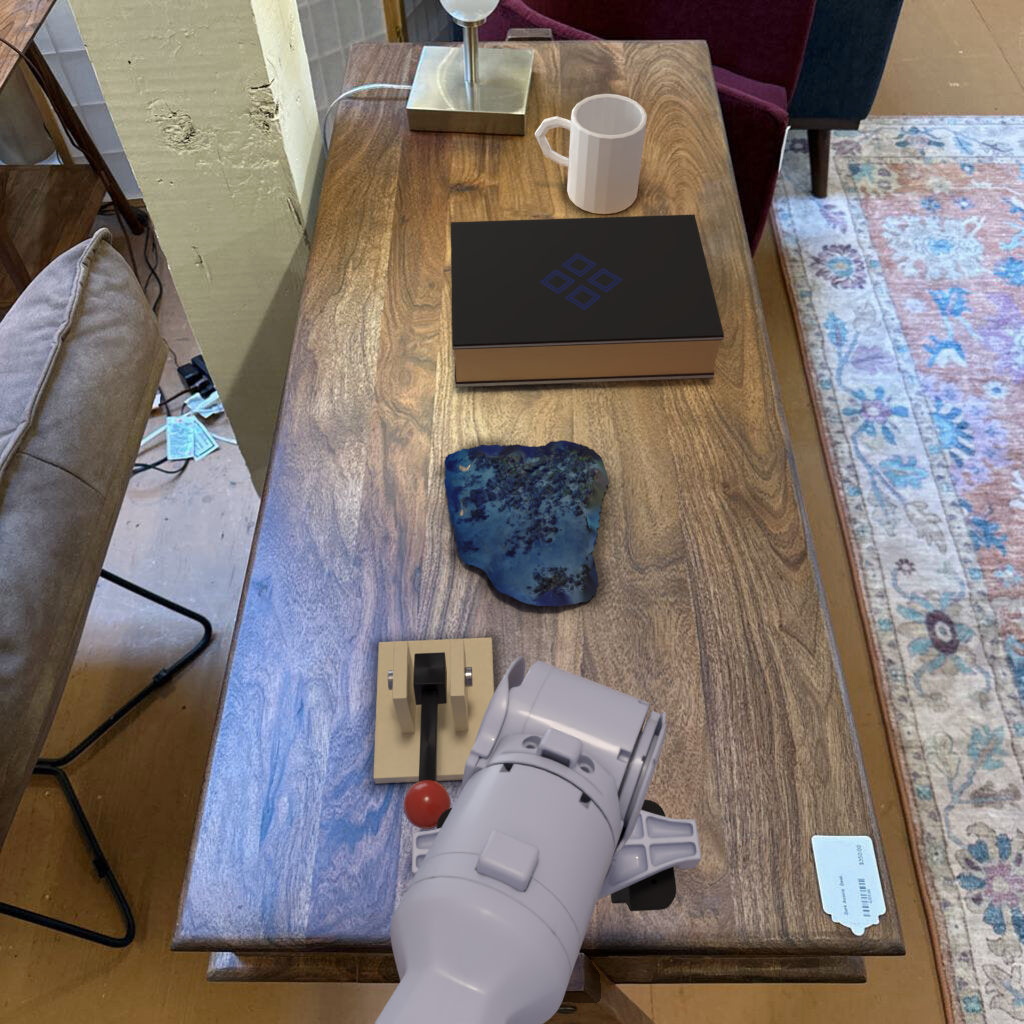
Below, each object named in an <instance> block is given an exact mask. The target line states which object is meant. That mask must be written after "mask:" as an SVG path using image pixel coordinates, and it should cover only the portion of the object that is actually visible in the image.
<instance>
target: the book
mask: <svg viewBox="0 0 1024 1024" xmlns="http://www.w3.org/2000/svg"><path fill="white" fill-rule="evenodd" d="M700 235H701V234H700V231H699V225H698V222H697V218H696V215H695V214H668V215H667V214H666V215H665V214H664V215H636V216H635V215H633V216H603V217H602V216H601V217H573V218H570V217H569V218H543V219H542V218H541V219H537V218H536V219H511V220H507V219H506V220H479V221H451V222H450V262H451V263H450V265H451V266H450V269H451V272H450V273H451V274H450V275H451V277H450V278H451V283H450V284H451V342H452V343H451V348H452V350H453V351H454V384H455V389H457V388H460V389H461V388H484V387H487V388H489V387H513V386H514V387H516V386H539V385H540V386H541V385H542V386H543V385H568V384H596V383H597V384H598V383H624V382H627V383H628V382H654V381H655V382H656V381H681V380H706V379H707V380H708V379H710V380H711V379H714V376H715V372H714V371H715V370H714V369H715V367H716V366H715V365H716V361H717V357H718V355H719V350H720V345H721V342H722V341H724V337H725V334H724V329H723V324H722V321H721V316H720V313H719V309H718V304H717V300H716V297H715V293H714V289H713V285H712V280H711V276H710V272H709V268H708V264H707V259H706V255H705V252H704V251H705V250H704V247H703V243H702V239H701V236H700Z"/></svg>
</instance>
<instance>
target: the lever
mask: <svg viewBox="0 0 1024 1024" xmlns="http://www.w3.org/2000/svg"><path fill="white" fill-rule="evenodd" d="M413 687H414V694H415V701H416V705H421V729H420V757H419V782H414V783H413V785H411V786H410V788H408V790H407V792H406V793H405V796H404V798H403V803H402V804H403V813H404V815H405V818H406V819H407V820H408V822H409V823H410V824H411V825H412V826H414V827H416V828H418V829H422V830H433V829H436V828H437V822H438V819H439V817H440V816H441V814H442V813H443V812H444V811H445V810H447V809H449V808H451V805H452V803H451V796H450V794H449V792H448V790H447V789H446V787H444V785H443V784H441V783H440V782H439V781H437V737H438V704H446V703H447V668H446V658H445V652H440V653H416V654H415V655H414V678H413Z"/></svg>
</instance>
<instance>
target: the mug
mask: <svg viewBox="0 0 1024 1024" xmlns="http://www.w3.org/2000/svg"><path fill="white" fill-rule="evenodd" d="M647 118H648V115H647V112H646V109H645V108H644V107H643V106H642V105H641V104H640V103H639V102H637V101H636V100H634V99H633V98H630V97H628V96H624V95H621V94H616V93H615V94H614V93H601V94H595V95H591V96H587V97H586V98H583V99H582V100H580V101H578V102H577V103H576V104H575V106H574V107H573V108H572V109H571V114H570V119H567V118H564V117H561V116H558V115H555V116H552V117H548V118H544V119H543V120H542V122H541V124H539V126H538V128H537V129H536V131H535V132H534V138H535V139H536V141H537V143H538V146H539V147H540V150H541V152H542V153H543V156H544V157H545V158H547V159H548V160H551V161H552V162H554V163H556V164H557V165H559V166H562V167H567V187H566V192H567V195H568V198H569V200H570V201H571V202H572V203H573V204H574V205H575V206H576V207H577V208H579V209H581V210H583V211H585V212H589V213H591V214H598V215H609V214H616V213H619V212H623V211H625V210H626V209H628V208H629V207H630V206H632V205H633V204H634V202H635V200H637V196H638V189H639V183H640V175H641V167H642V166H641V165H642V159H643V152H644V144H645V136H646V127H647V121H648V120H647ZM556 128H562V129H566V130H568V131H569V148H568V157H567V156H564V155H562V154H560V153H559V152H557V151H555V150H554V149H553V148H552V147H551V145H550V142H549V141H548V138H547V137H546V135H547V133H548V132H549V130H552V129H556Z"/></svg>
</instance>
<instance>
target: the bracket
mask: <svg viewBox="0 0 1024 1024" xmlns="http://www.w3.org/2000/svg"><path fill="white" fill-rule="evenodd" d="M493 651H494V650H493V638H492V637H470V638H447V639H446V638H445V639H423V640H419V639H418V640H398V641H397V640H396V641H379V642H378V655H377V676H376V678H377V679H376V701H375V702H376V704H375V726H374V727H375V728H374V731H375V732H374V753H373V777H372V778H373V781H374V784H376V785H377V784H395V783H397V784H398V783H400V784H401V783H417V782H419V757H420V729H421V705H416V701H415V694H414V687H413V678H414V655H415V654H416V653H440V652H445V658H446V668H447V703H446V704H438V737H437V782H441V781H443V782H444V781H463V775H464V769H465V764H466V761H467V759H468V757H469V755H470V752H471V749H472V747H473V746H474V743H475V740H476V737H477V733H478V730H479V728H480V725H481V722H482V719H483V717H484V714H485V712H486V709H487V707H488V705H489V703H490V701H491V698H492V696H493V694H494V692H495V680H494V679H495V678H494V677H495V676H494V654H493V653H494V652H493Z"/></svg>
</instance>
